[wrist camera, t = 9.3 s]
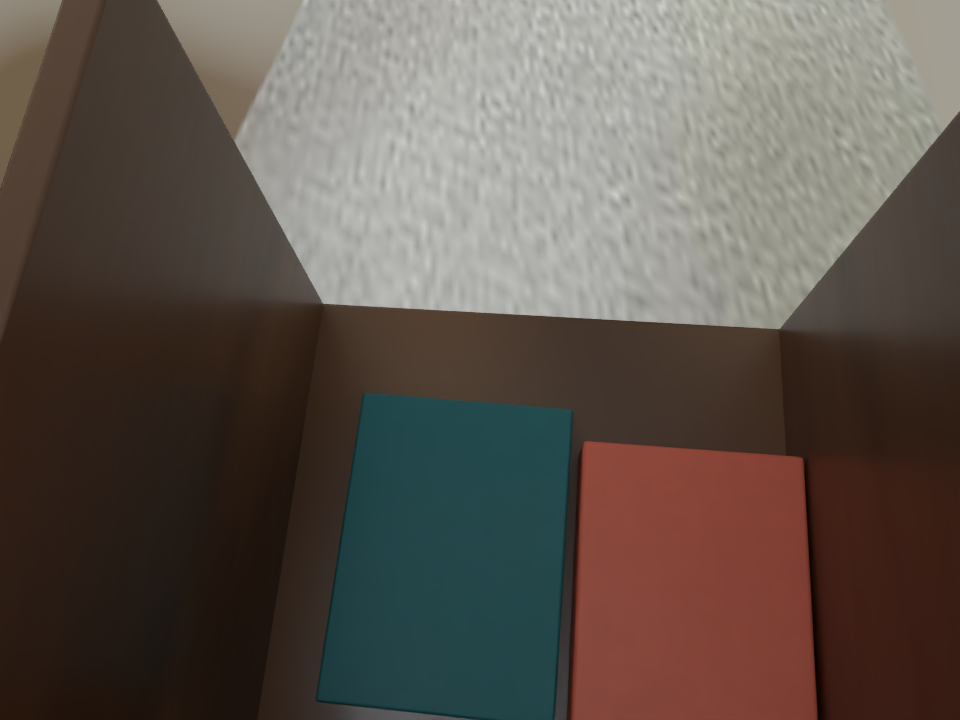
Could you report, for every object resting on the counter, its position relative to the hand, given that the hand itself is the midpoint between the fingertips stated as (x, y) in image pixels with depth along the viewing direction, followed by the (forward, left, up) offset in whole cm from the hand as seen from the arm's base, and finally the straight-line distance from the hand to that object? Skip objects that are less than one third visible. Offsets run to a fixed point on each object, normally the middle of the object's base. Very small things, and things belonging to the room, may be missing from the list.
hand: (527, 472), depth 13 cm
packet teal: (-1, -1, -4) cm, 4 cm away
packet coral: (+3, -1, -4) cm, 5 cm away
